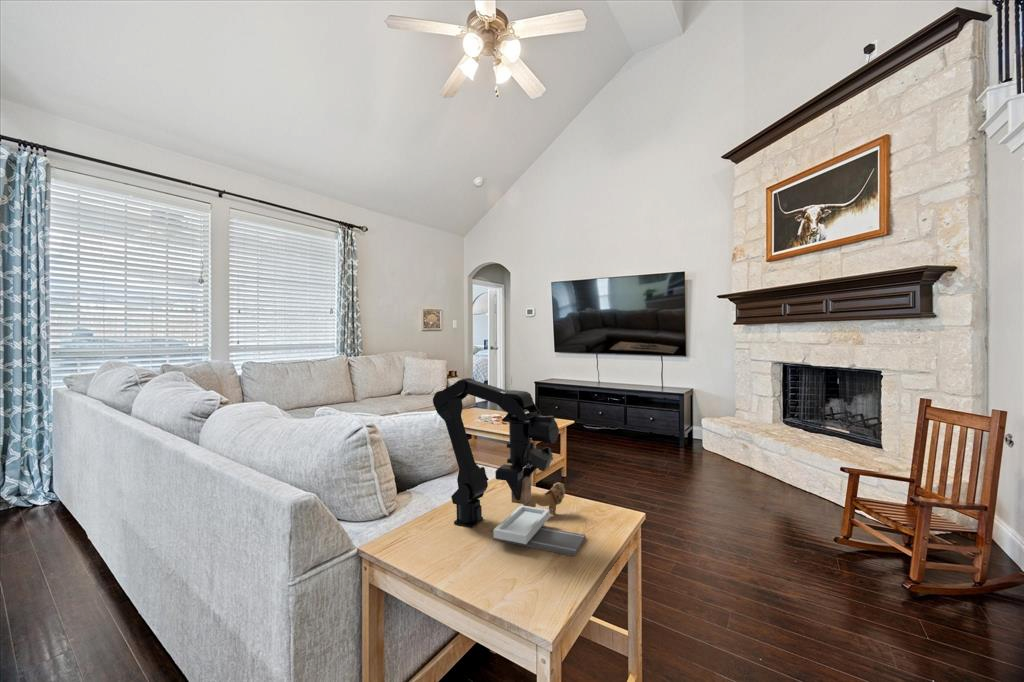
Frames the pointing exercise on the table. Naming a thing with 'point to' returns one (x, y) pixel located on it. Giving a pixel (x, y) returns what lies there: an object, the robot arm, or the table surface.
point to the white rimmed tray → (522, 524)
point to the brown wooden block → (524, 492)
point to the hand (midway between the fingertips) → (521, 496)
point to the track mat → (554, 541)
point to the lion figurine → (548, 498)
